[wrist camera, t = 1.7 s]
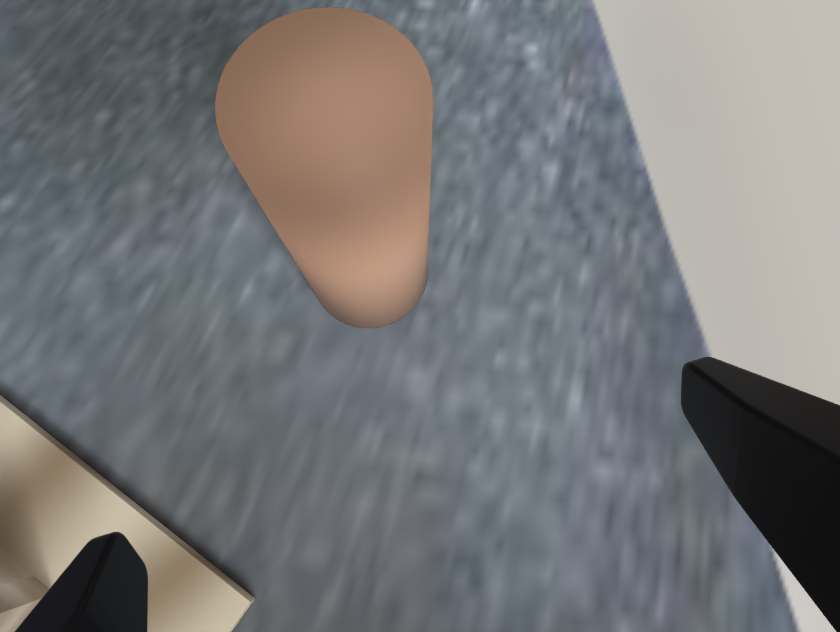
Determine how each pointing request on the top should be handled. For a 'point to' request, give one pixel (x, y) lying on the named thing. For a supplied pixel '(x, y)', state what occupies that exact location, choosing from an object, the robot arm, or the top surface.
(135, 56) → the top surface
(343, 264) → the peg
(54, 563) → the socket
